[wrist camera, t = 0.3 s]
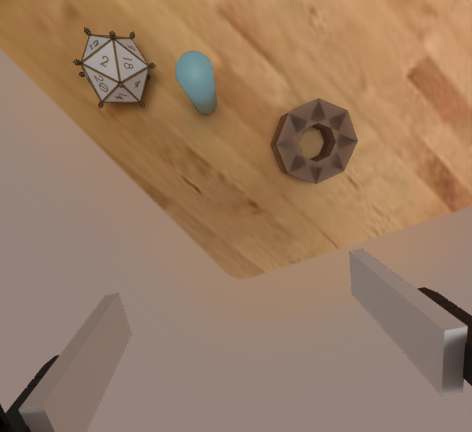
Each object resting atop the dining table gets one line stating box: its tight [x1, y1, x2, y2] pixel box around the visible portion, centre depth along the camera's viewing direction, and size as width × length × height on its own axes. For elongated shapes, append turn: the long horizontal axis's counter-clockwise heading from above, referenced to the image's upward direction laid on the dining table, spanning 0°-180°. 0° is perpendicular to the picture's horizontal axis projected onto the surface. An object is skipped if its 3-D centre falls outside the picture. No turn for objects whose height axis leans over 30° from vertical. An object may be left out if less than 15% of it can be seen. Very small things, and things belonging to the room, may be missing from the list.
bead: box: [271, 98, 358, 184], centre depth 37 cm, size 10×10×4 cm
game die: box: [72, 27, 156, 109], centre depth 32 cm, size 9×8×10 cm
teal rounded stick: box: [175, 51, 217, 115], centre depth 29 cm, size 3×3×16 cm
